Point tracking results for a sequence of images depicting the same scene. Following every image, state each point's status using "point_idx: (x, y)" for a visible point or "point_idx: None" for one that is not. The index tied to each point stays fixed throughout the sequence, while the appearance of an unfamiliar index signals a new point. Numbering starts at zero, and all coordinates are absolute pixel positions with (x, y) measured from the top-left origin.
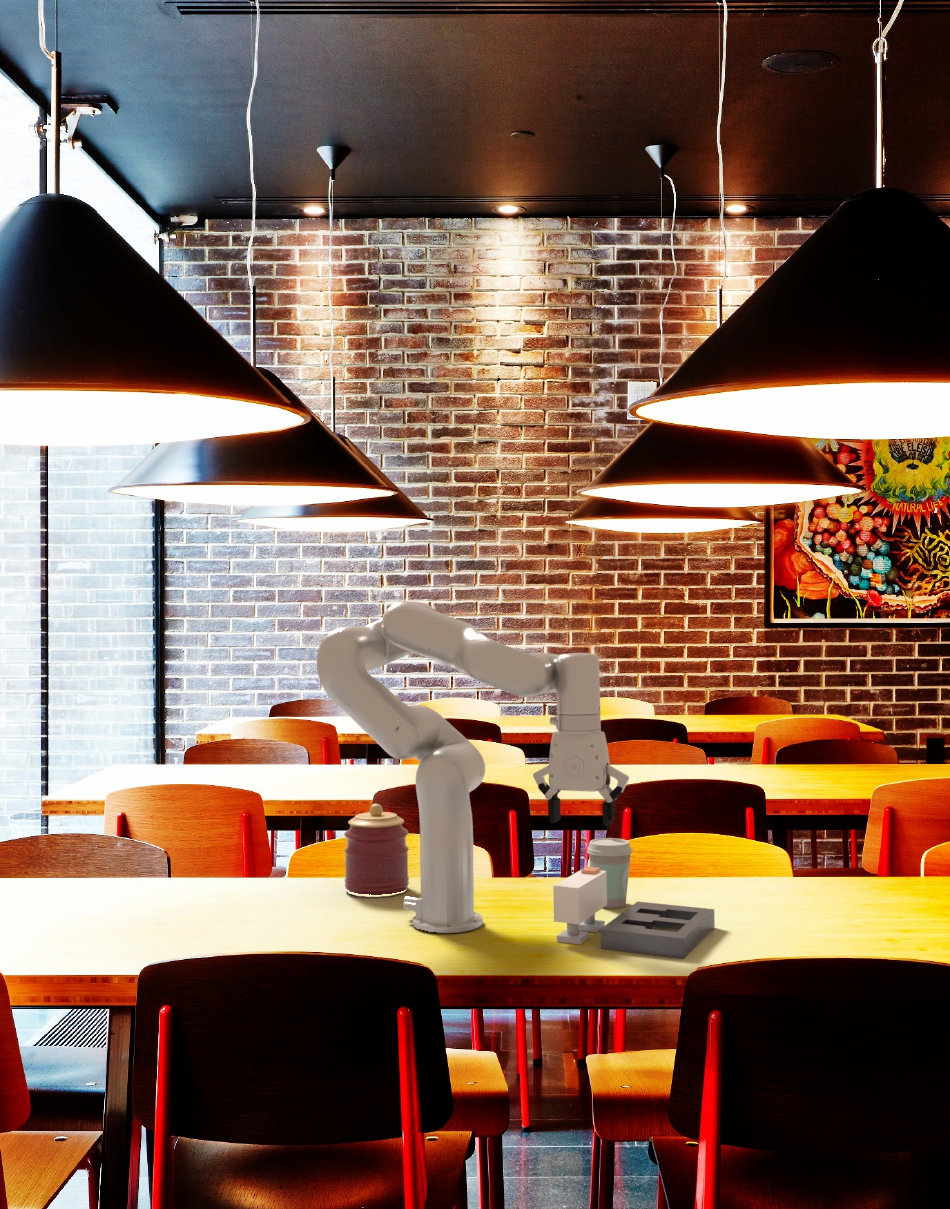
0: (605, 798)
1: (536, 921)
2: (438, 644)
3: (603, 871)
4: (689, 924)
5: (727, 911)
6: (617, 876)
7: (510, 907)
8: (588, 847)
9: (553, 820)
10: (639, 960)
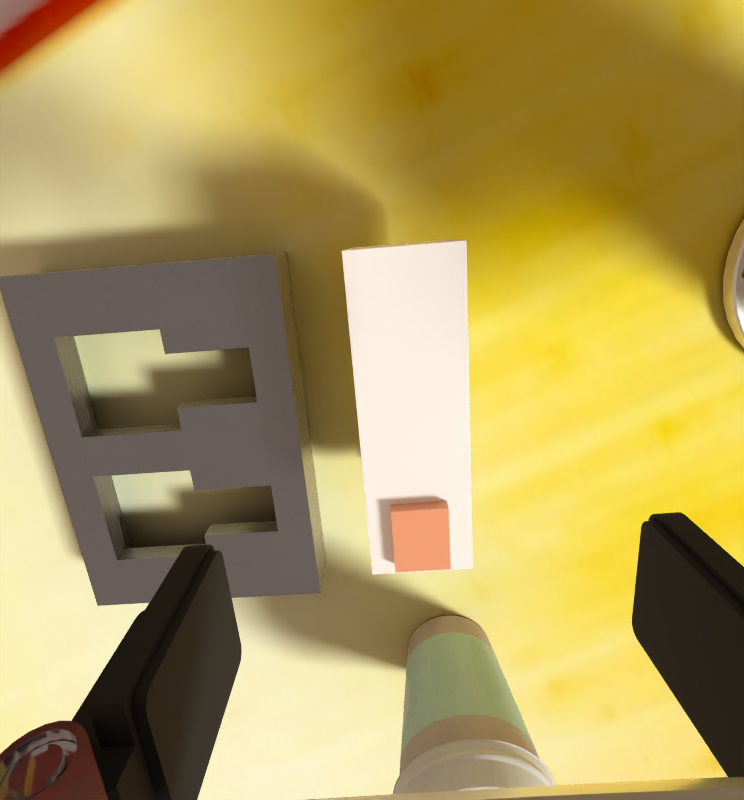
0: (75, 769)
1: (576, 425)
2: None
3: (379, 564)
4: (69, 434)
5: None
6: (419, 696)
7: (701, 520)
8: None
9: (658, 525)
10: (133, 195)
